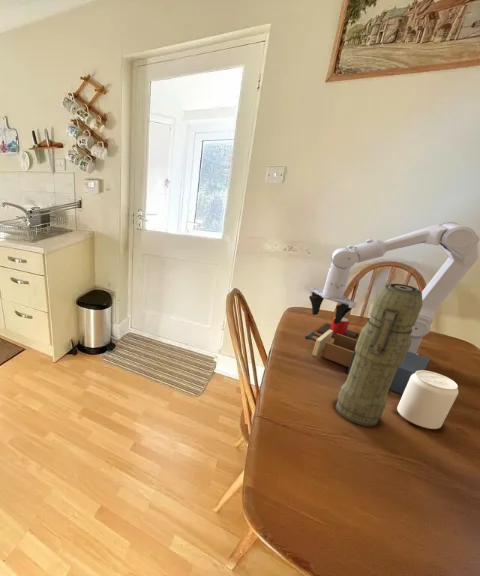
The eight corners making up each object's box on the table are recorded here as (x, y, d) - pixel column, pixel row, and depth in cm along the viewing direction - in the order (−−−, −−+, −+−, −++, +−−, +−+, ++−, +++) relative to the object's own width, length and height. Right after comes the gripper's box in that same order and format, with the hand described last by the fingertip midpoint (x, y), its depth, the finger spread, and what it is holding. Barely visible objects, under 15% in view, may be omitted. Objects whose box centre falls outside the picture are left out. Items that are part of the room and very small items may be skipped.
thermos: (380, 409, 82) (432, 285, 69) (375, 435, 74) (432, 300, 61) (339, 393, 87) (379, 276, 75) (330, 416, 80) (374, 289, 67)
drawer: (298, 349, 107) (302, 334, 105) (311, 338, 114) (315, 324, 112) (361, 374, 94) (367, 358, 92) (373, 361, 100) (379, 345, 98)
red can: (332, 327, 122) (336, 314, 120) (347, 332, 119) (351, 319, 117) (327, 331, 120) (331, 318, 118) (342, 336, 116) (347, 322, 114)
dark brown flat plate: (327, 324, 126) (327, 323, 126) (357, 334, 118) (358, 333, 118) (317, 331, 120) (317, 330, 120) (348, 342, 113) (348, 341, 113)
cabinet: (347, 372, 97) (354, 351, 94) (360, 358, 104) (367, 338, 101) (411, 398, 86) (421, 375, 83) (420, 380, 93) (430, 358, 90)
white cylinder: (450, 433, 74) (471, 392, 70) (410, 428, 76) (429, 388, 72) (424, 409, 82) (442, 371, 77) (388, 405, 83) (404, 367, 79)
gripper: (307, 278, 112) (298, 312, 117) (351, 292, 100) (339, 329, 105) (320, 275, 115) (311, 309, 120) (364, 289, 102) (352, 325, 107)
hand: (325, 318), depth 112 cm, fingers open, 7 cm apart
